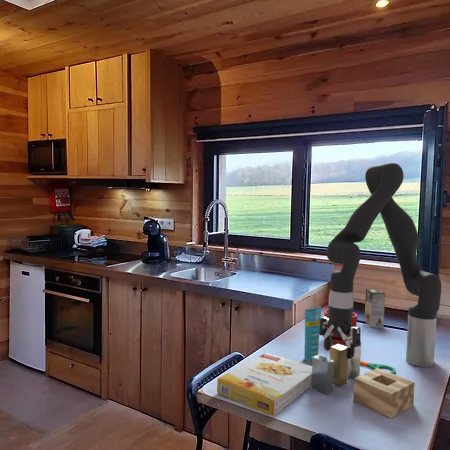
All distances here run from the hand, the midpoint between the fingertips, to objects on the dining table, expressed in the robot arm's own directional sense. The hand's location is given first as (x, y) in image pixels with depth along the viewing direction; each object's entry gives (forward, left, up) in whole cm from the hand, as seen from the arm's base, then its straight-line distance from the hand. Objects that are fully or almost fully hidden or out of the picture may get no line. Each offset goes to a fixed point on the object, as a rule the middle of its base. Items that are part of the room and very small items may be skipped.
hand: (338, 353), depth 137 cm
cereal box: (+20, -11, -10) cm, 25 cm away
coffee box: (-63, -28, -10) cm, 70 cm away
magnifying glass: (-20, 0, -10) cm, 23 cm away
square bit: (0, 0, -10) cm, 10 cm away
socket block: (0, +16, -10) cm, 19 cm away
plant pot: (-33, -24, -10) cm, 42 cm away
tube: (-8, -18, -10) cm, 22 cm away
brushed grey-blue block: (+8, 0, -10) cm, 12 cm away
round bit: (-8, 0, -10) cm, 13 cm away
